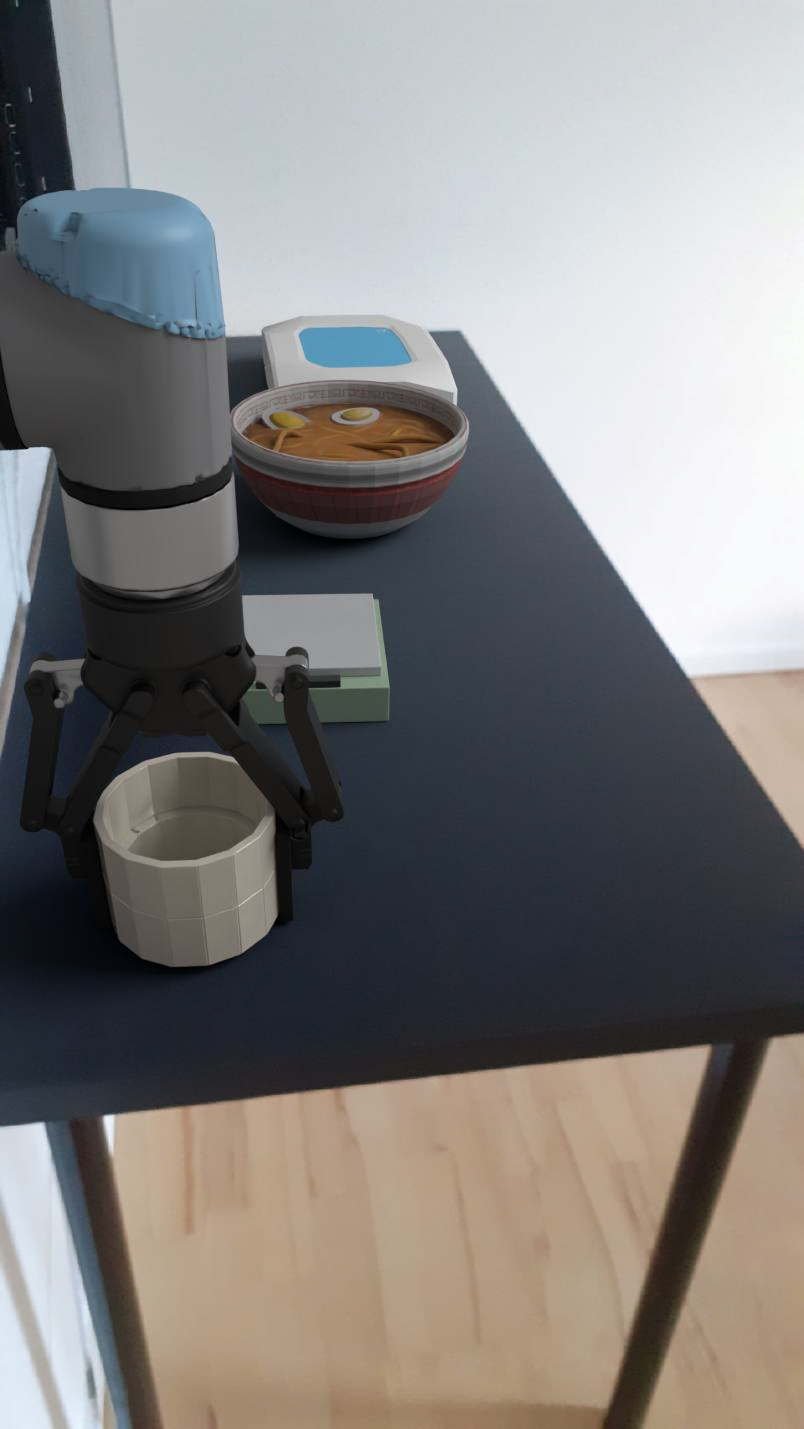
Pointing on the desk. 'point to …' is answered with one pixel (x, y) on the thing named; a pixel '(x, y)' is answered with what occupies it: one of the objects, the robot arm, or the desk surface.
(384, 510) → the bowl
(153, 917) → the faceted beige cup
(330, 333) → the document scanner
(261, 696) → the scale
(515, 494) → the desk surface
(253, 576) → the desk surface
